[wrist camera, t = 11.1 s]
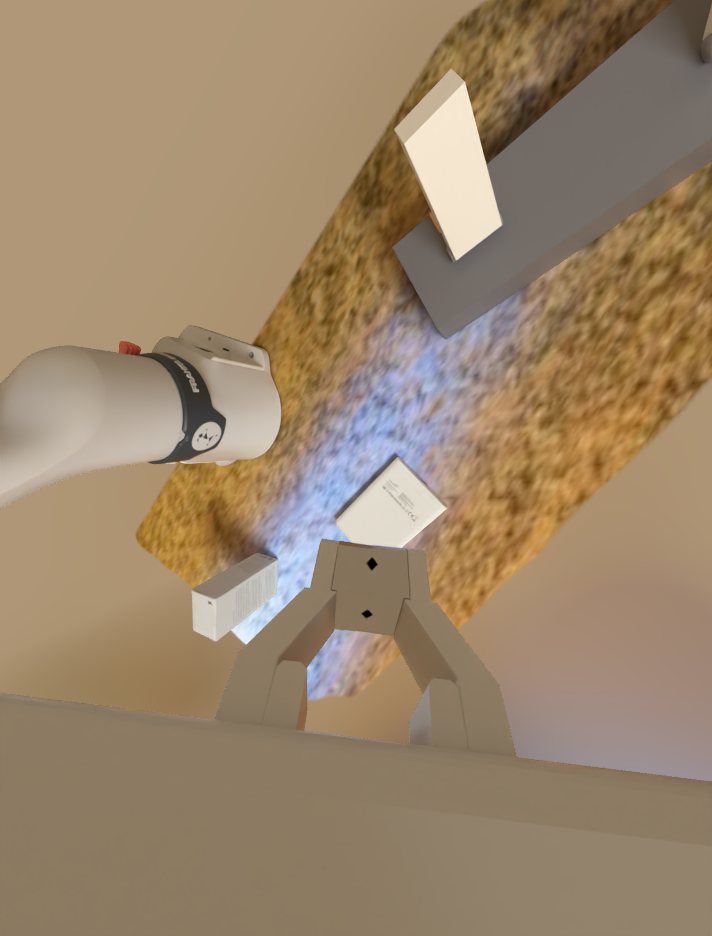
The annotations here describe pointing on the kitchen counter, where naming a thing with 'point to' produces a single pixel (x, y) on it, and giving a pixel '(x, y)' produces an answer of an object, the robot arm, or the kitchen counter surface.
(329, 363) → the kitchen counter surface
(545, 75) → the kitchen counter surface
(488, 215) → the lever
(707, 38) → the lever
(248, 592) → the skincare box
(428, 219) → the switch box
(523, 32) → the kitchen counter surface
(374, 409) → the kitchen counter surface
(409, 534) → the external hard drive
